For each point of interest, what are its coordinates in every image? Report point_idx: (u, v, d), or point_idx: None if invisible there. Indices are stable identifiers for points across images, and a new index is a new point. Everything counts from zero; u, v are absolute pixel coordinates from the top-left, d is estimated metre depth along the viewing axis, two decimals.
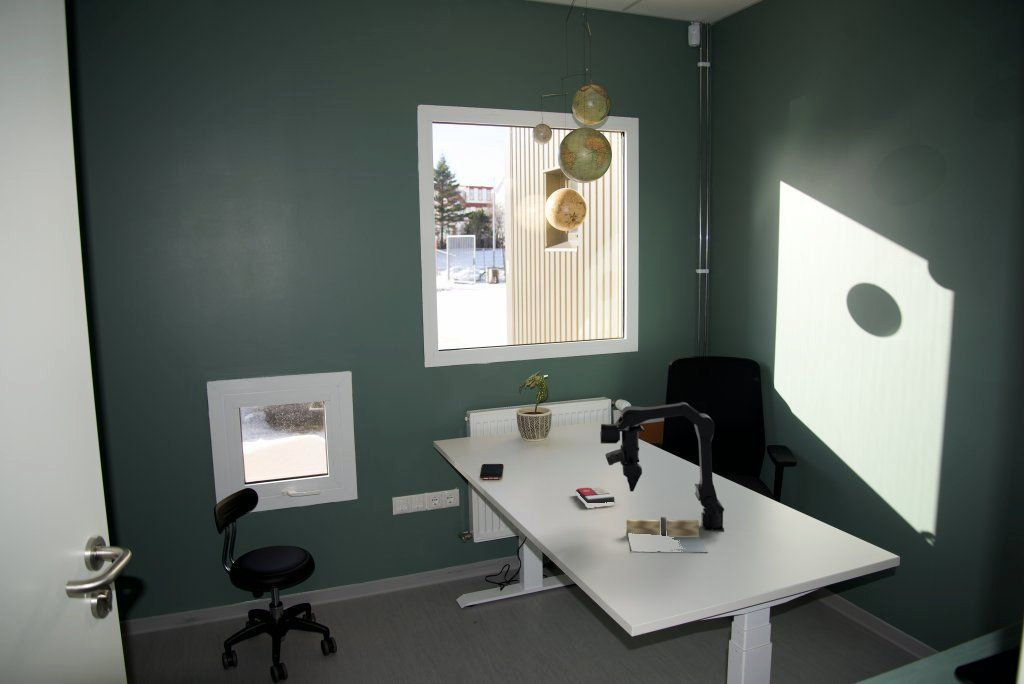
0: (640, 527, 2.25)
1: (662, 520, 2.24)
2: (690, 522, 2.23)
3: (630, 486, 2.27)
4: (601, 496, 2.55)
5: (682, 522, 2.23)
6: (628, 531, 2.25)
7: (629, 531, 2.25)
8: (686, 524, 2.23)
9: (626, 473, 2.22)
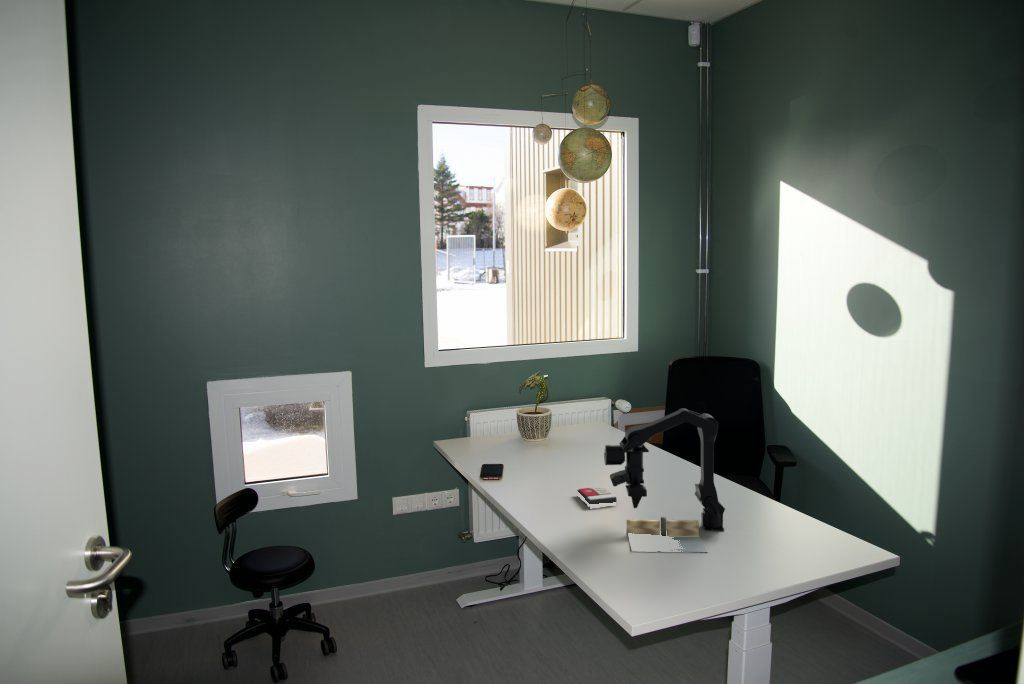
0: (640, 527, 2.25)
1: (662, 520, 2.24)
2: (690, 522, 2.23)
3: (633, 503, 2.30)
4: (603, 496, 2.54)
5: (682, 522, 2.23)
6: (628, 531, 2.25)
7: (629, 531, 2.25)
8: (686, 524, 2.23)
9: (631, 495, 2.21)
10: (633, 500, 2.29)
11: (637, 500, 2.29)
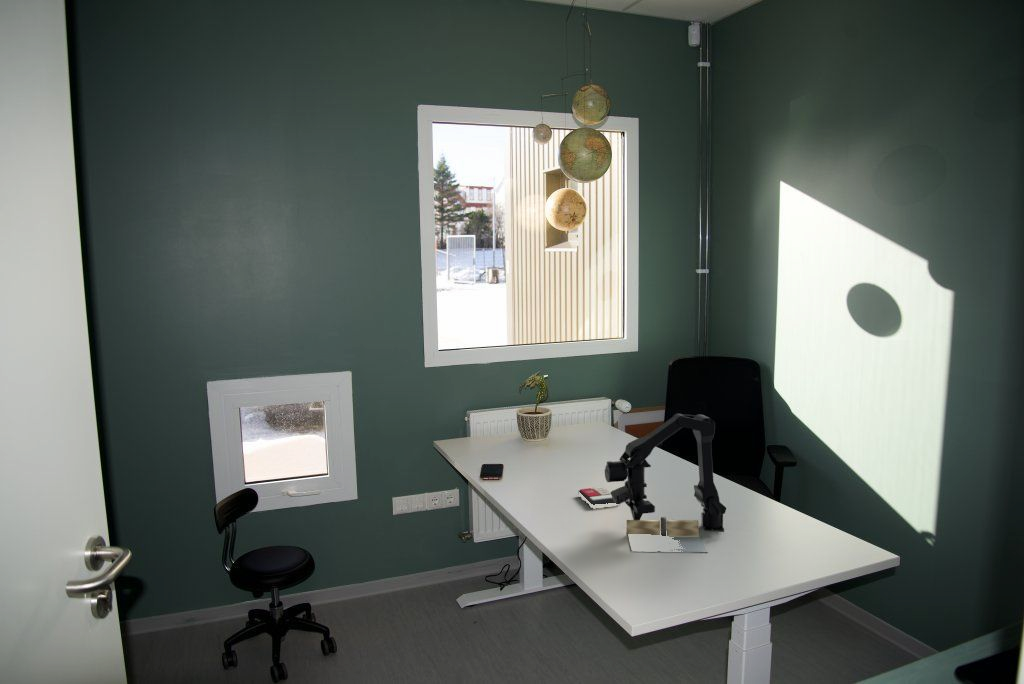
0: (640, 527, 2.25)
1: (662, 520, 2.24)
2: (690, 522, 2.23)
3: (635, 519, 2.26)
4: (605, 496, 2.54)
5: (682, 522, 2.23)
6: (628, 532, 2.25)
7: (629, 531, 2.25)
8: (686, 524, 2.23)
9: (640, 512, 2.17)
10: (635, 516, 2.26)
11: (639, 516, 2.26)
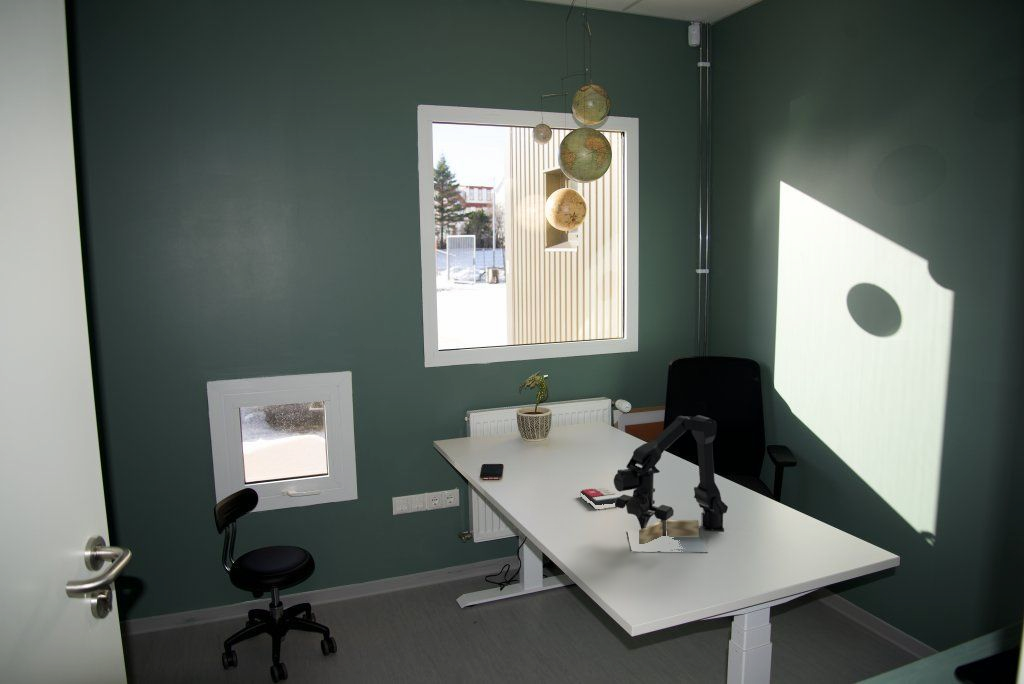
0: (650, 533, 2.19)
1: (662, 520, 2.24)
2: (690, 522, 2.23)
3: (644, 526, 2.19)
4: (608, 497, 2.54)
5: (682, 522, 2.23)
6: (642, 542, 2.17)
7: (643, 541, 2.17)
8: (686, 524, 2.23)
9: (667, 518, 2.12)
10: (645, 523, 2.19)
11: (647, 522, 2.20)
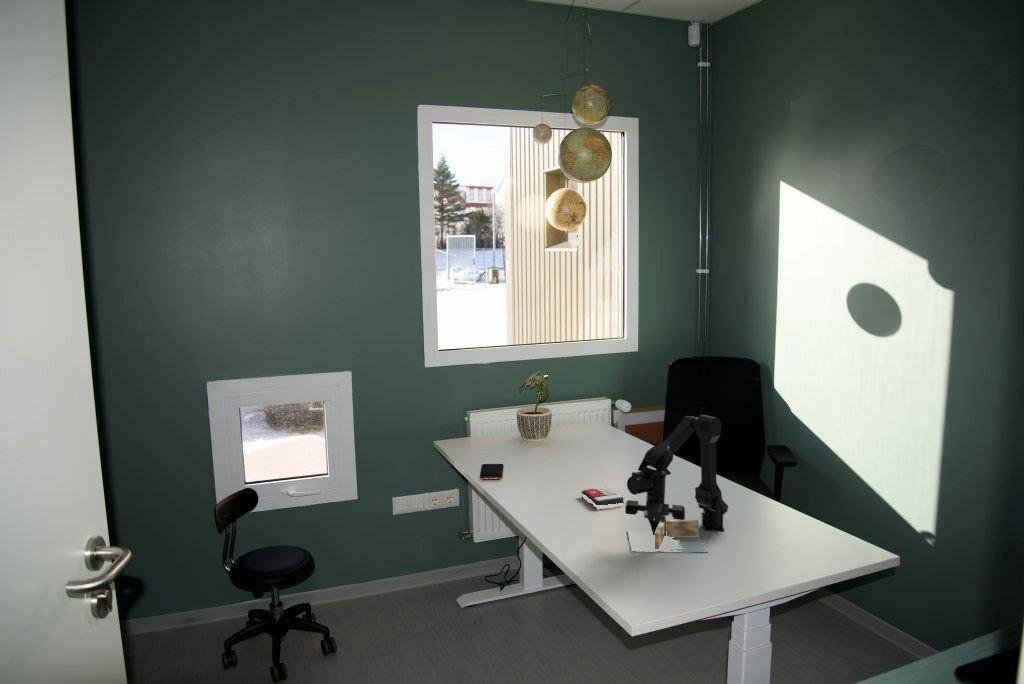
0: (661, 535, 2.17)
1: (662, 520, 2.24)
2: (690, 522, 2.23)
3: (655, 529, 2.16)
4: (610, 497, 2.54)
5: (682, 522, 2.23)
6: (658, 545, 2.14)
7: (658, 545, 2.14)
8: (686, 524, 2.23)
9: (684, 517, 2.12)
10: None
11: None
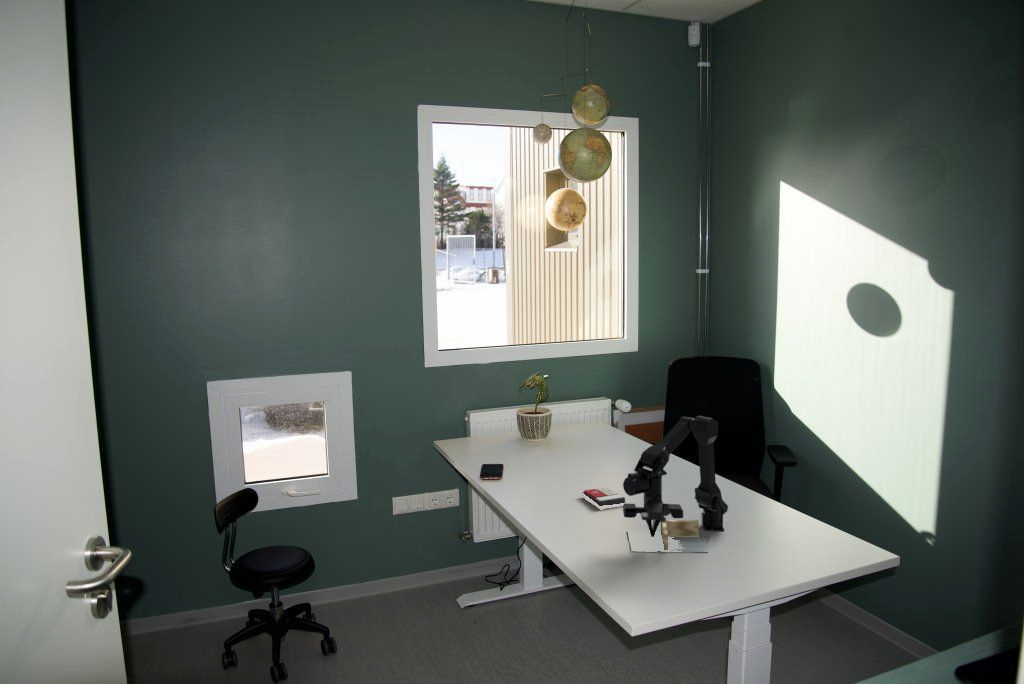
0: None
1: (662, 520, 2.24)
2: (690, 522, 2.23)
3: None
4: (612, 497, 2.53)
5: (682, 522, 2.23)
6: None
7: None
8: (686, 524, 2.23)
9: None
10: None
11: None
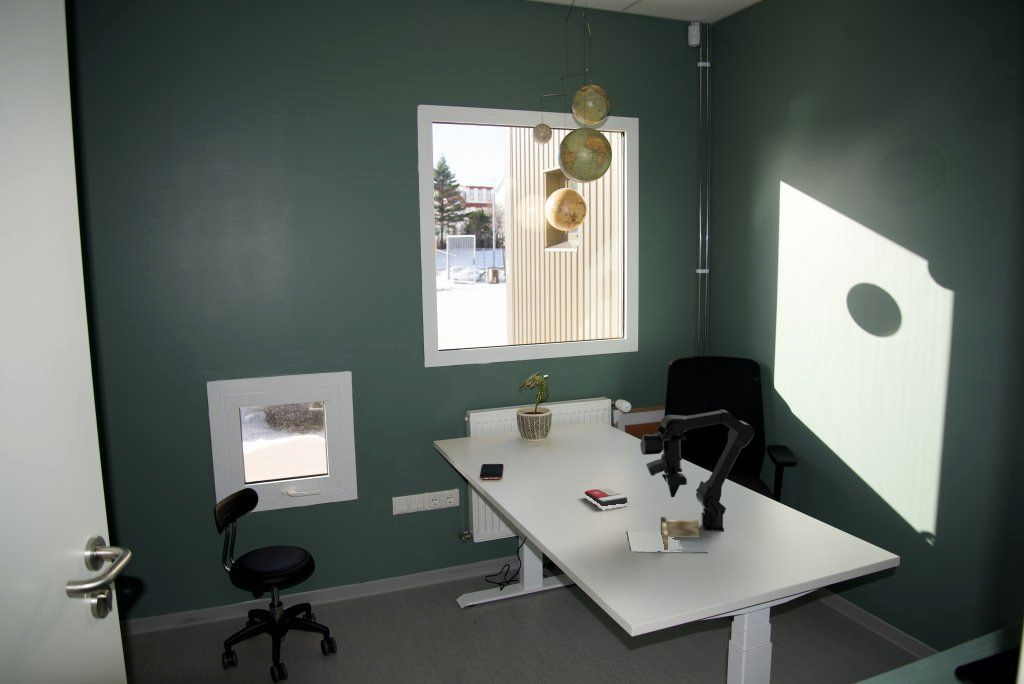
0: None
1: (662, 520, 2.24)
2: (690, 522, 2.23)
3: (671, 492, 2.28)
4: (614, 497, 2.53)
5: (682, 522, 2.23)
6: None
7: None
8: (686, 524, 2.23)
9: (671, 483, 2.19)
10: (671, 489, 2.27)
11: (675, 489, 2.27)
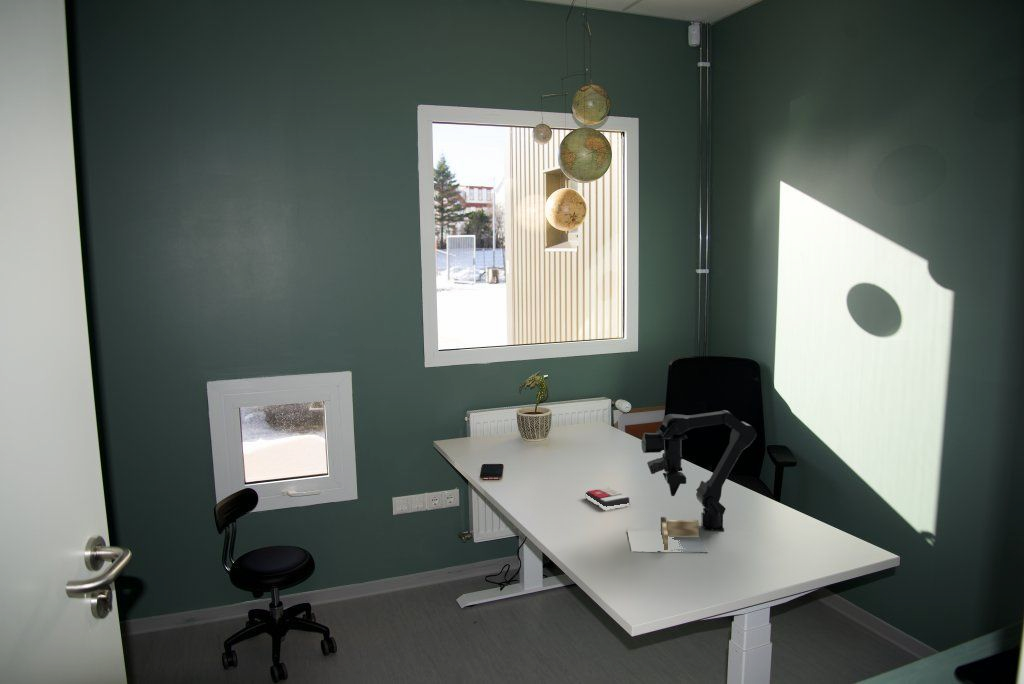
0: None
1: (662, 520, 2.24)
2: (690, 522, 2.23)
3: (671, 491, 2.28)
4: (616, 497, 2.53)
5: (682, 522, 2.23)
6: None
7: None
8: (686, 524, 2.23)
9: (670, 482, 2.19)
10: (671, 488, 2.28)
11: (675, 488, 2.28)
